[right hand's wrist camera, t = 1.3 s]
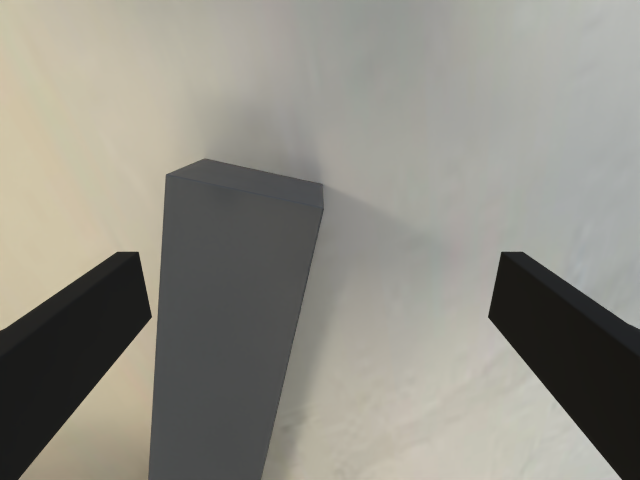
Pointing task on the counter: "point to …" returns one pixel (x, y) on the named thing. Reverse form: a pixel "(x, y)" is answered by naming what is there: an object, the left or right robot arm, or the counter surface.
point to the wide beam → (227, 315)
